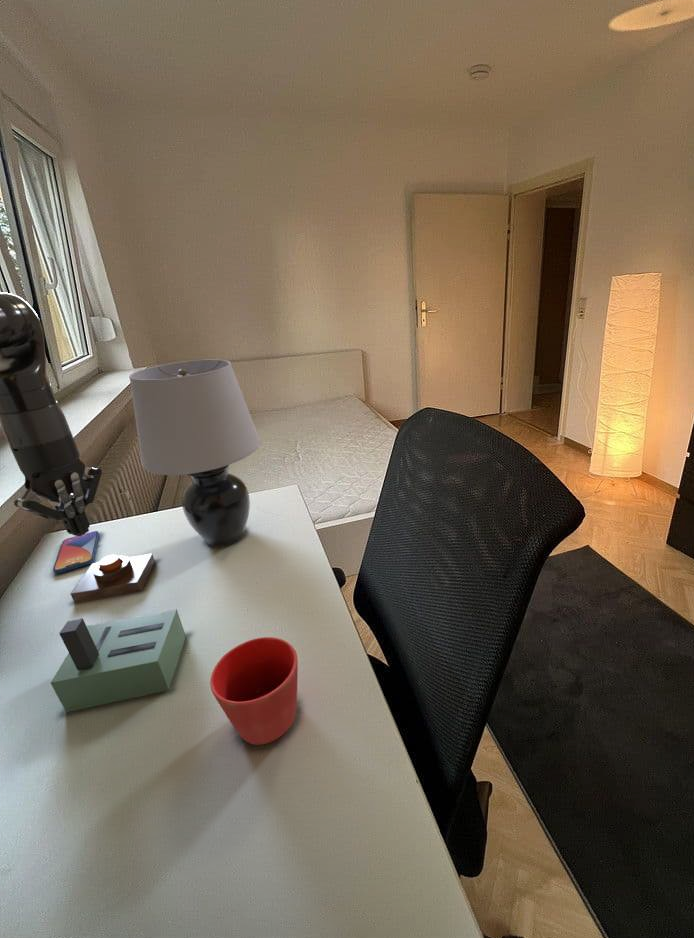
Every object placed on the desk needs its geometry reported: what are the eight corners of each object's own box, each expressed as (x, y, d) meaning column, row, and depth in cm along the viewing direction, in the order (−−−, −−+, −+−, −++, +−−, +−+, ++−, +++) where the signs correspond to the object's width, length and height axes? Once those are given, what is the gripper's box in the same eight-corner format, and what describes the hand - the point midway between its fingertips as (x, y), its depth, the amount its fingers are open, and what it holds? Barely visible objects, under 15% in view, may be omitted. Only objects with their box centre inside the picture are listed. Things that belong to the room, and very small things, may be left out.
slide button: (77, 670, 63) (59, 633, 60) (84, 657, 65) (67, 621, 62) (92, 667, 63) (75, 630, 61) (99, 654, 66) (82, 618, 63)
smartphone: (100, 533, 110) (98, 529, 109) (94, 564, 97) (92, 559, 97) (64, 543, 107) (62, 539, 106) (53, 575, 94) (51, 571, 94)
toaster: (66, 712, 64) (49, 682, 61) (97, 653, 74) (84, 625, 71) (169, 690, 66) (157, 660, 64) (186, 636, 76) (176, 608, 74)
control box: (74, 602, 86) (66, 586, 84) (95, 571, 95) (89, 556, 93) (140, 591, 88) (134, 574, 86) (155, 561, 97) (150, 546, 95)
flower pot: (261, 675, 68) (248, 627, 64) (322, 697, 64) (312, 647, 60) (209, 739, 59) (190, 688, 55) (276, 769, 55) (261, 716, 51)
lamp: (178, 522, 112) (129, 365, 96) (274, 503, 119) (244, 352, 103) (162, 578, 91) (96, 390, 75) (280, 552, 98) (243, 372, 82)
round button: (98, 573, 88) (95, 566, 87) (105, 563, 91) (102, 556, 91) (117, 570, 89) (115, 563, 88) (124, 560, 92) (121, 553, 91)
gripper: (64, 420, 73) (99, 511, 80) (-28, 450, 62) (23, 553, 68) (98, 422, 71) (131, 515, 78) (9, 454, 59) (57, 560, 66)
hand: (80, 533), depth 73 cm, fingers closed
